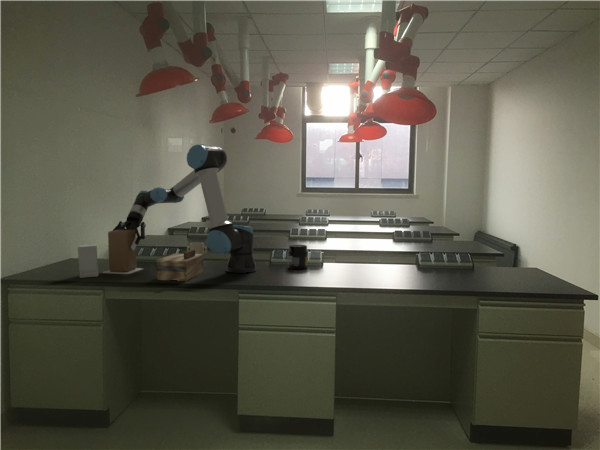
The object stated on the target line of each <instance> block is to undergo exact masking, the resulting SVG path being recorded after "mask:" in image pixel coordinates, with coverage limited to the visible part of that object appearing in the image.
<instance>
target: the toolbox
mask: <svg viewBox="0 0 600 450" xmlns="http://www.w3.org/2000/svg"><path fill="white" fill-rule="evenodd" d="M203 267H204V259H203V257H201V258H199V259H196V260H194V261H191V262H189V263H187V264H186V263H161V262H156V277H157V278H156V279H157V281H170V280H177V281H176V282H188V281H190V280H192V279H194V278H195V276H196V277H197V276H199V275H201V274H203V271H204V270H203ZM193 277H194V278H193ZM191 278H192V279H191ZM189 279H190V280H189ZM187 280H188V281H187Z"/></svg>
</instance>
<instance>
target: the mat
mask: <svg viewBox="0 0 600 450" xmlns="http://www.w3.org/2000/svg"><path fill="white" fill-rule="evenodd" d="M142 270H144V268H141V267H136V269H133V270H131V271H128V272H113V271H110V270H106V271H102V274H109V275H111V274H113V275H115V274H116V275H131V274H135V273H137V272H139V271H142Z"/></svg>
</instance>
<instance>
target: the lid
mask: <svg viewBox="0 0 600 450" xmlns="http://www.w3.org/2000/svg"><path fill="white" fill-rule="evenodd" d="M201 257H202V258H203V257H204V254H195V250H190V249H189V251H187V250H186V251H185V252H183V253H177V252H176V253H172V254H169V255H167V256H164V257H161V258H157V259H156V260H155V263H157V262H161V263H186V264H187V263H189V262H191V261H194V260H196V259H199V258H201Z"/></svg>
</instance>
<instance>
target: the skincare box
mask: <svg viewBox="0 0 600 450" xmlns="http://www.w3.org/2000/svg"><path fill="white" fill-rule="evenodd" d="M97 246H98V245H97V244H96V243H92V244H91V243H90V244H82V245H79V244H77V255H78V256H77V259H78V272H79V273H78V274H79V278H80V279H81V278H83V279H84V278H92V277H99V264H98V263H99V262H98V261H99V260H98V247H97Z"/></svg>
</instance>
